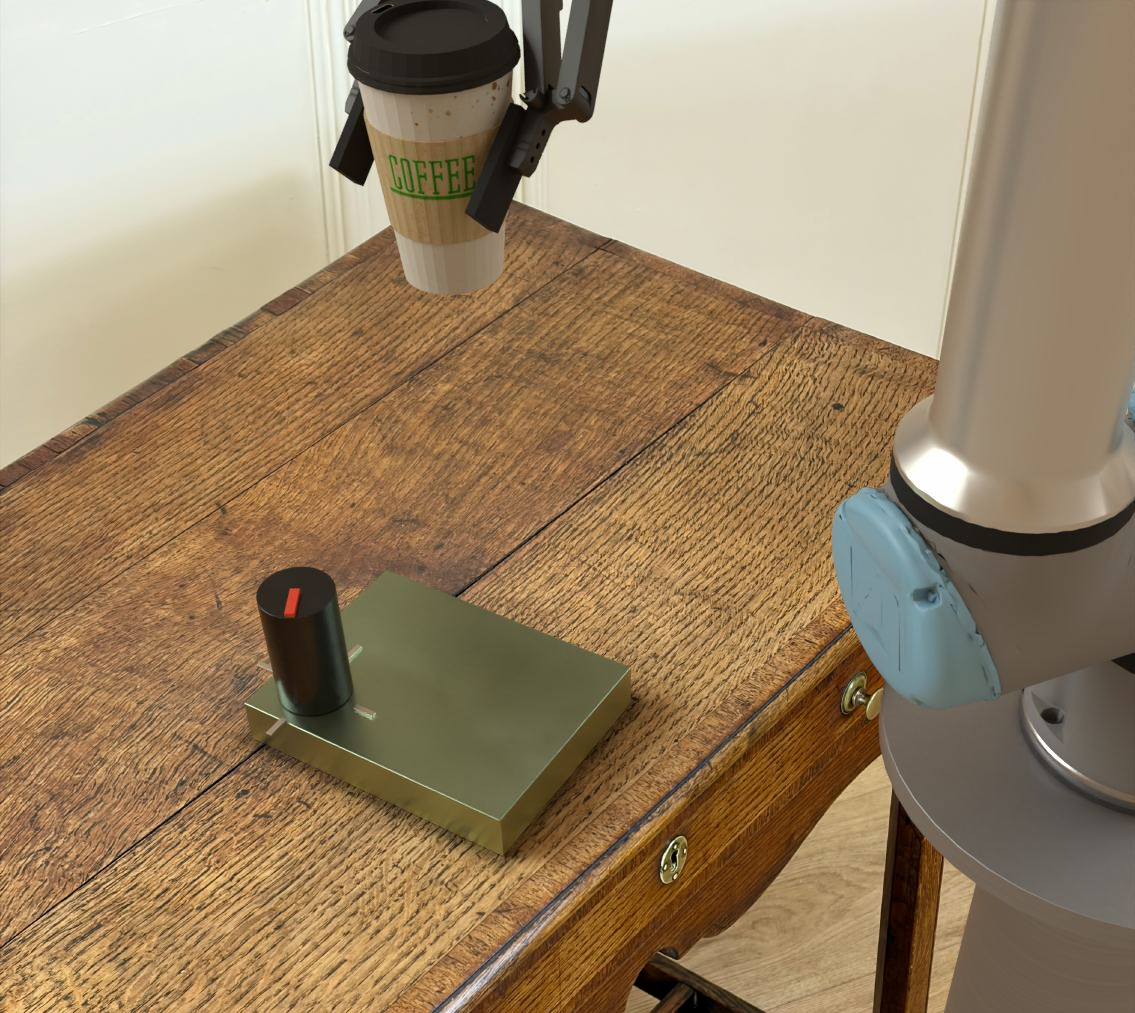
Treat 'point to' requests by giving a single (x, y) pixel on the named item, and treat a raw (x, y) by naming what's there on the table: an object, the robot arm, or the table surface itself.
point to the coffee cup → (436, 129)
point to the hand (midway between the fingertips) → (412, 199)
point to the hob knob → (305, 640)
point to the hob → (452, 711)
